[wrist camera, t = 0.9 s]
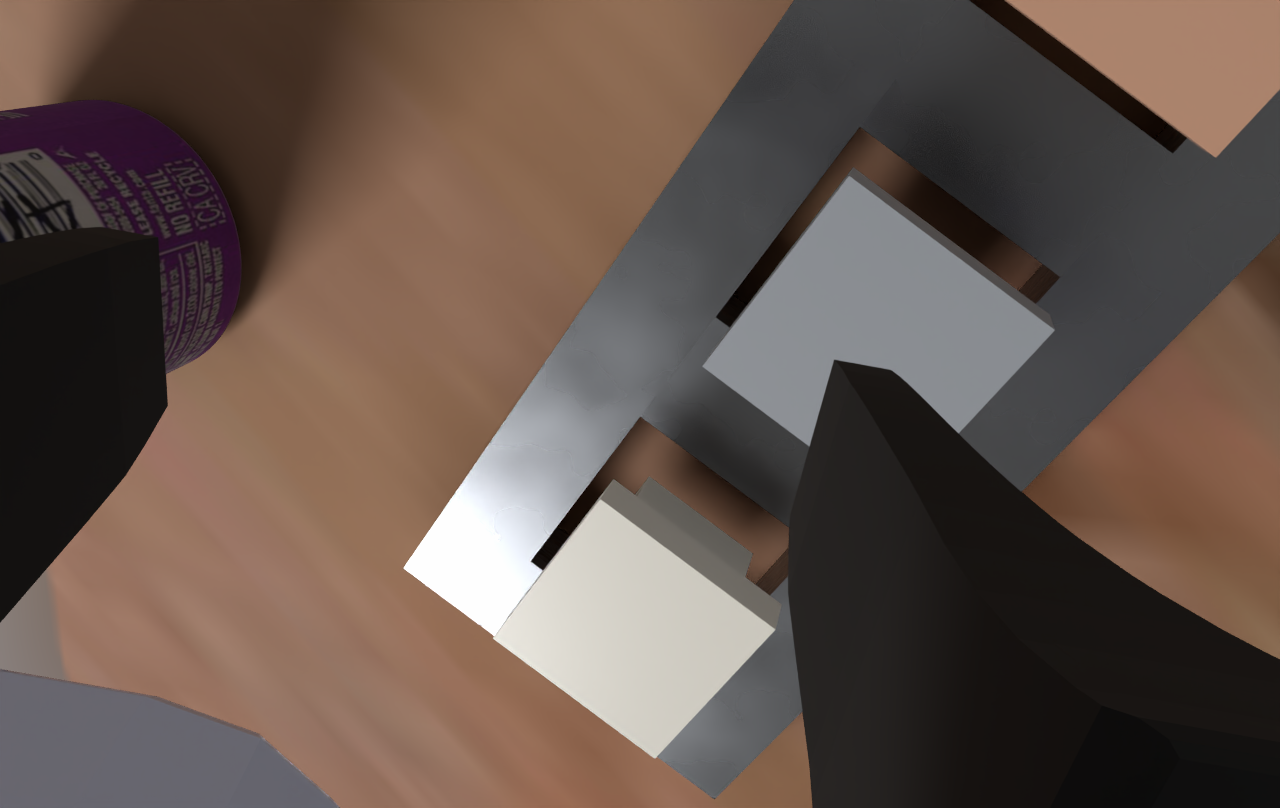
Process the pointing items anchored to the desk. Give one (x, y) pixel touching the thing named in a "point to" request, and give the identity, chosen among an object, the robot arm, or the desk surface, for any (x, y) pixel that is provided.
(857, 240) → the light grey block
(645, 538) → the off-white block
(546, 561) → the panel
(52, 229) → the beverage can
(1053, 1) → the terracotta key
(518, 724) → the desk surface
